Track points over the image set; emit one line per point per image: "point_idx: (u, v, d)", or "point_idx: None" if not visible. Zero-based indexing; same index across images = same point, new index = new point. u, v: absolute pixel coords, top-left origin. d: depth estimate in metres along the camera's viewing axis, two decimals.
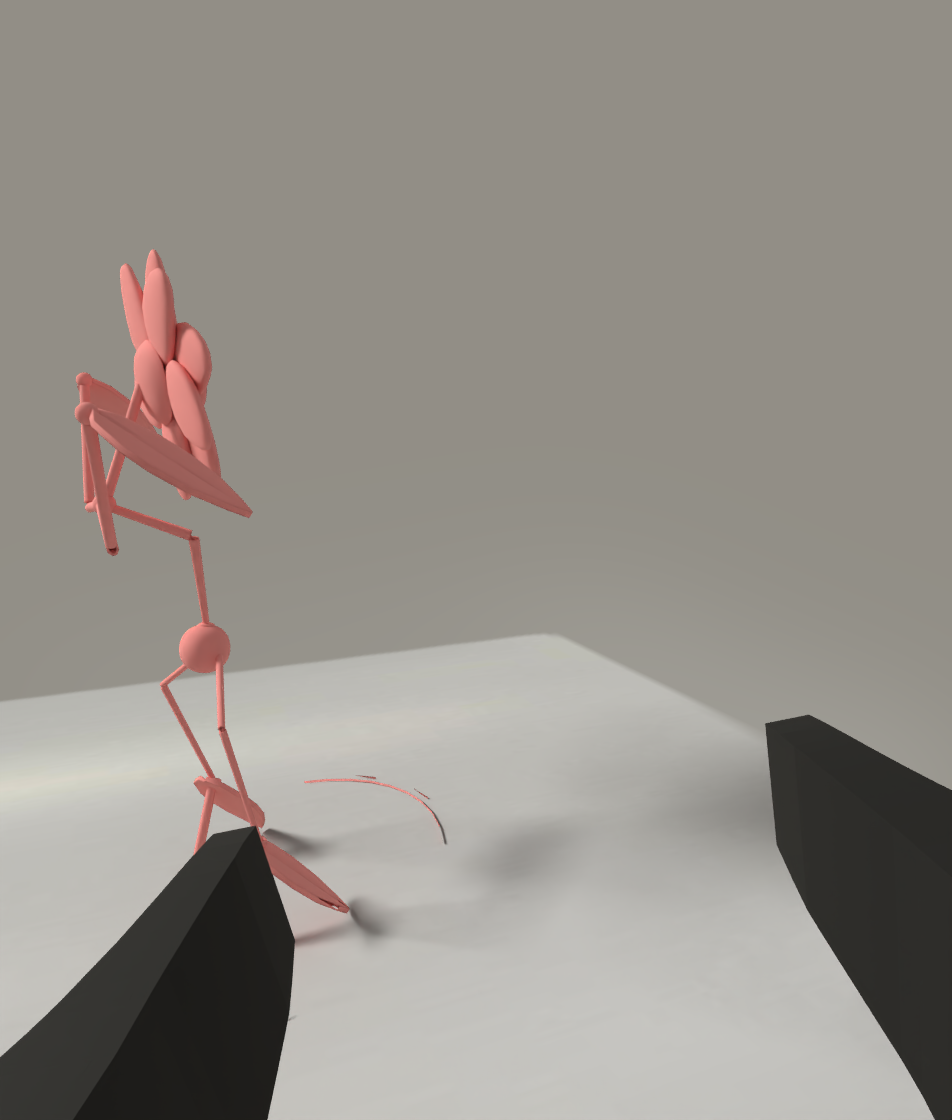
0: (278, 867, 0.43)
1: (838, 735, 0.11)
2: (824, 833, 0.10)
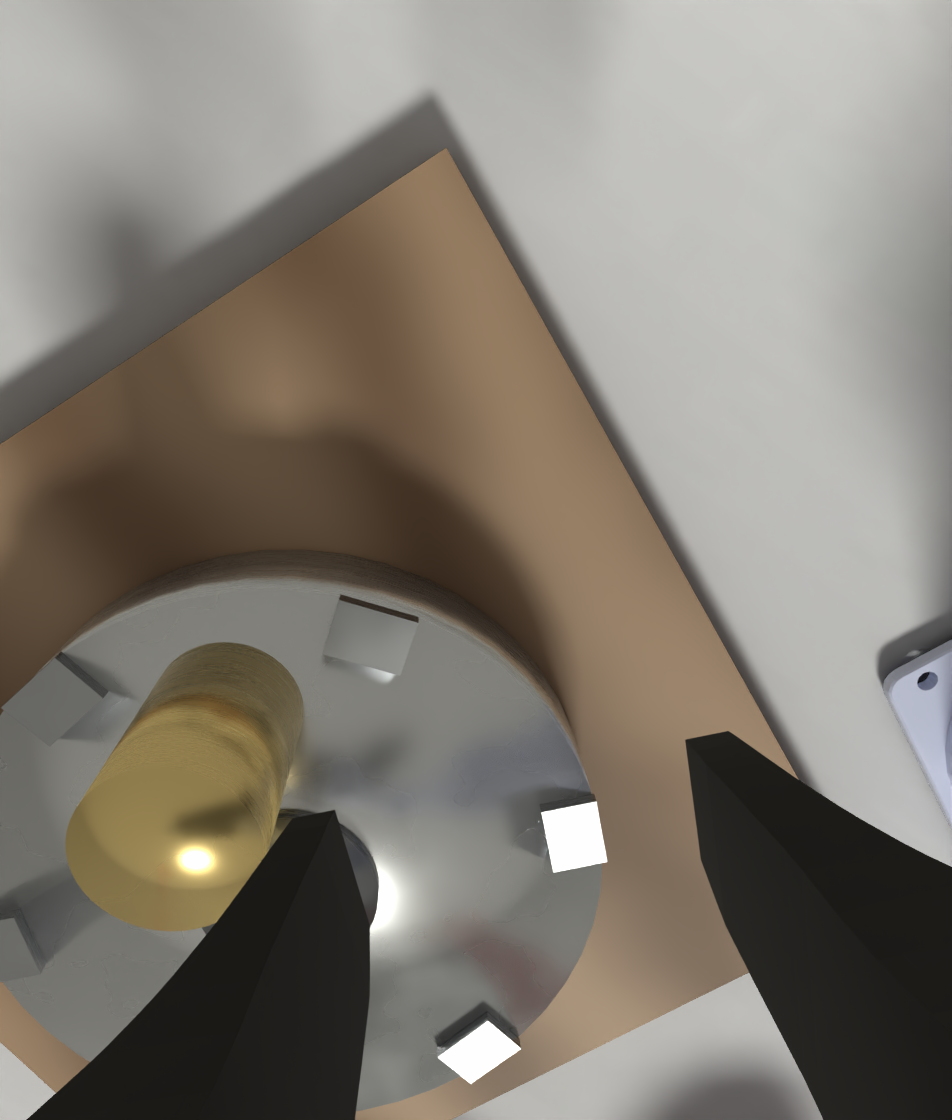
0: None
1: (751, 754, 0.11)
2: (733, 851, 0.10)
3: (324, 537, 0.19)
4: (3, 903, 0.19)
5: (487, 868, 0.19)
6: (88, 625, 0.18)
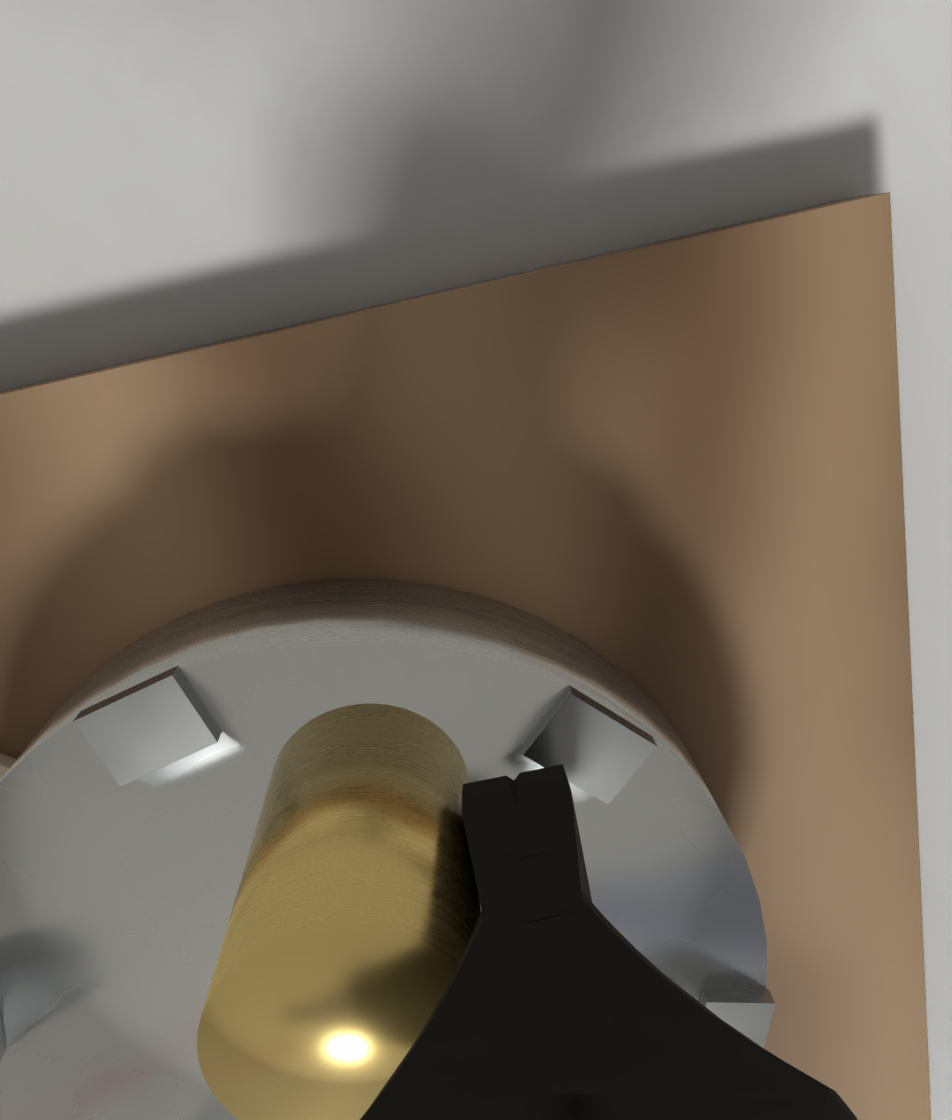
0: None
1: (507, 802, 0.11)
2: None
3: (538, 597, 0.15)
4: None
5: None
6: (201, 629, 0.14)
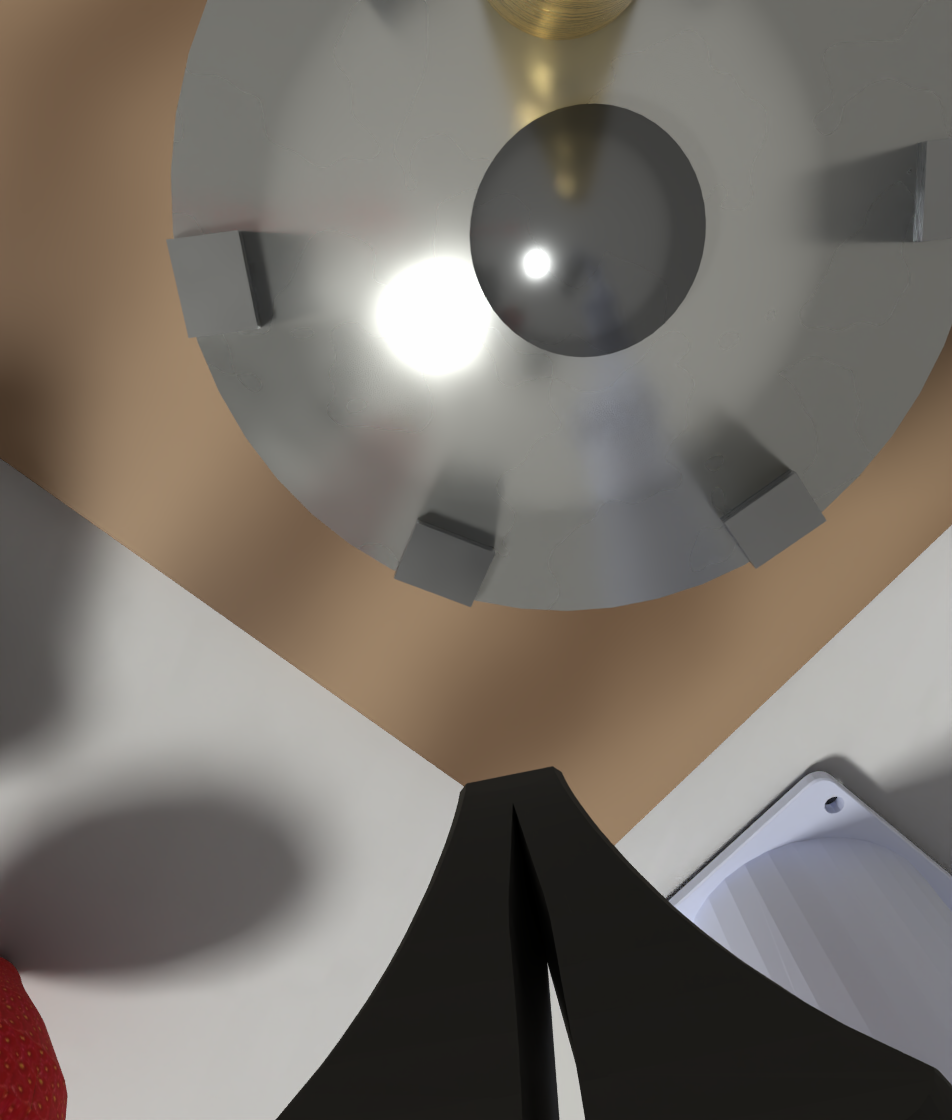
0: None
1: (558, 791, 0.11)
2: (534, 891, 0.10)
3: None
4: (222, 219, 0.14)
5: (834, 240, 0.15)
6: None
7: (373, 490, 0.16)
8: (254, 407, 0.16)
